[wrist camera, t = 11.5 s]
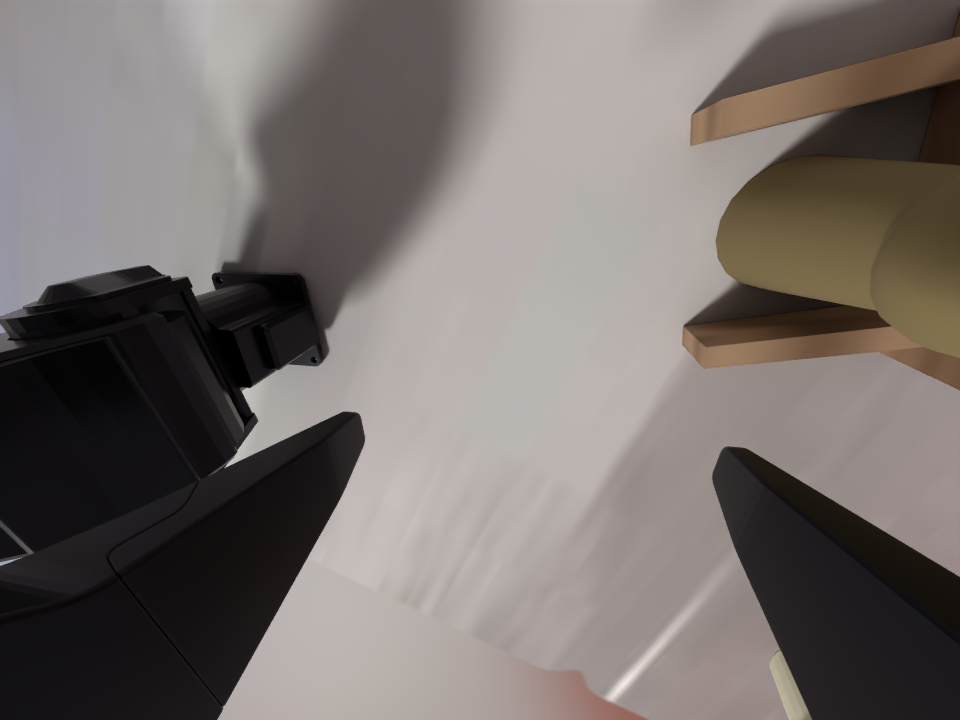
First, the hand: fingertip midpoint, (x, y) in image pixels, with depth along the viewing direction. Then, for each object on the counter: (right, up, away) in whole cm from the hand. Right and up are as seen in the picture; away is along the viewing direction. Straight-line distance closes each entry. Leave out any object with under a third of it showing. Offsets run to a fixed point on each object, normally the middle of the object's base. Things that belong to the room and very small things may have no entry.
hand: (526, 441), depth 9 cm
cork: (+14, +9, +8) cm, 18 cm away
